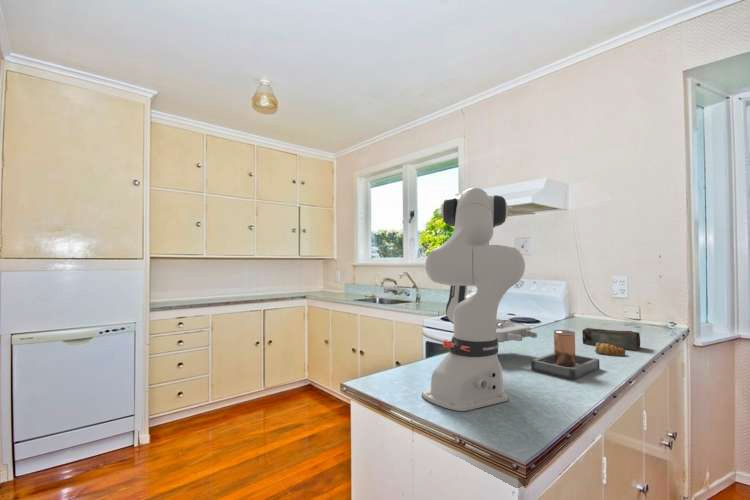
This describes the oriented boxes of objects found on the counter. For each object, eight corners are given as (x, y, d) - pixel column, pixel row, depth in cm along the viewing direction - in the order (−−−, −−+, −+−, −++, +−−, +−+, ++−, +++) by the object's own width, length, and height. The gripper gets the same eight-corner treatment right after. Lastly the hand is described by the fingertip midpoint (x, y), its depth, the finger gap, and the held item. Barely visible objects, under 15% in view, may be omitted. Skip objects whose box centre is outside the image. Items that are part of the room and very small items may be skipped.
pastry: (625, 354, 133) (625, 343, 133) (625, 358, 128) (624, 347, 128) (596, 350, 139) (596, 340, 139) (594, 354, 133) (594, 344, 134)
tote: (573, 380, 104) (573, 369, 104) (531, 369, 114) (530, 360, 114) (599, 368, 115) (599, 359, 115) (558, 360, 125) (558, 351, 125)
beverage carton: (586, 341, 155) (585, 325, 156) (641, 347, 143) (640, 331, 143) (582, 344, 149) (581, 328, 150) (639, 351, 137) (638, 334, 137)
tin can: (570, 370, 111) (569, 334, 111) (550, 365, 115) (550, 331, 116) (579, 366, 114) (578, 331, 115) (559, 362, 119) (558, 329, 120)
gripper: (476, 324, 129) (511, 330, 118) (509, 319, 141) (543, 325, 130) (476, 342, 129) (511, 350, 118) (509, 335, 141) (543, 342, 130)
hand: (528, 336), depth 124 cm, fingers open, 8 cm apart
